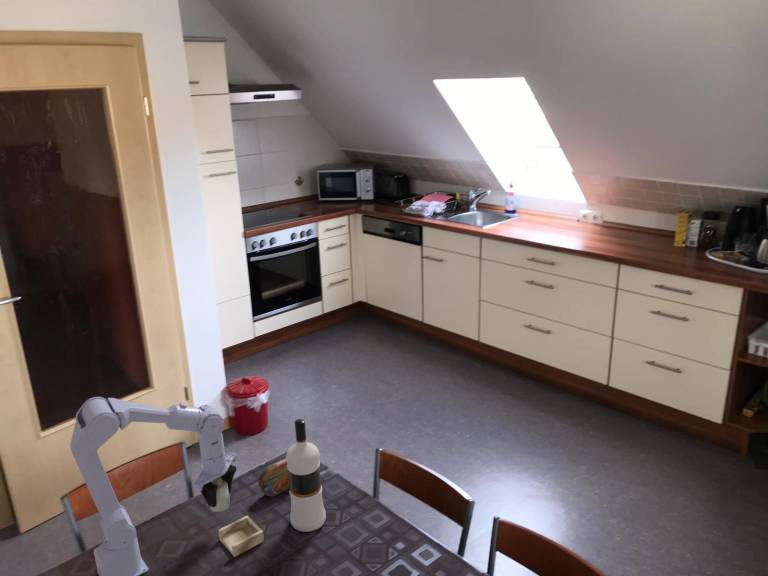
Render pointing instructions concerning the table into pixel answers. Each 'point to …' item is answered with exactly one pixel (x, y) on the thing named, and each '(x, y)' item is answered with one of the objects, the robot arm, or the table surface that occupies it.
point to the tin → (274, 478)
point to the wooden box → (241, 536)
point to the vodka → (305, 483)
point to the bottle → (221, 495)
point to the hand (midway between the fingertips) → (219, 499)
